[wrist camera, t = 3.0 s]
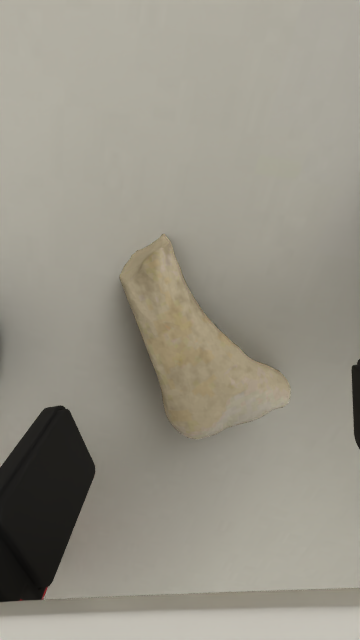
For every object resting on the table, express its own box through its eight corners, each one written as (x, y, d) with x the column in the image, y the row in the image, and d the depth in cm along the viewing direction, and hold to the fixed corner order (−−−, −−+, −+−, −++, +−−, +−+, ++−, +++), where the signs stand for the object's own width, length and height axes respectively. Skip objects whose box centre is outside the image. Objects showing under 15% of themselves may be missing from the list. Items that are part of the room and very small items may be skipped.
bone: (288, 374, 19) (314, 433, 14) (207, 423, 21) (207, 488, 16) (165, 227, 16) (149, 242, 11) (85, 299, 18) (44, 337, 13)
